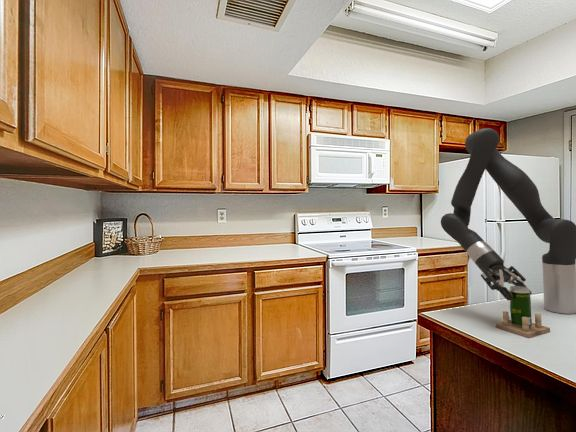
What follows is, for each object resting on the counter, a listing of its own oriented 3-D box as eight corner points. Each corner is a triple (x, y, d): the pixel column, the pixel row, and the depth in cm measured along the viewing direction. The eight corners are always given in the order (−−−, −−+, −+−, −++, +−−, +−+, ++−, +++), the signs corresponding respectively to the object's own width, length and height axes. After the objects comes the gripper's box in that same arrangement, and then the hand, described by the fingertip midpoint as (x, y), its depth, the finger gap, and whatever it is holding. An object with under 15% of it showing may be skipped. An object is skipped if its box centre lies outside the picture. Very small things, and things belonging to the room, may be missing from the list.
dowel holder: (516, 321, 106) (515, 306, 106) (550, 331, 97) (549, 315, 97) (495, 327, 103) (495, 311, 102) (528, 338, 93) (528, 320, 93)
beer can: (532, 324, 100) (531, 287, 100) (530, 329, 96) (529, 290, 96) (512, 321, 104) (510, 285, 104) (509, 326, 100) (507, 288, 100)
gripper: (476, 252, 105) (513, 294, 95) (505, 248, 110) (543, 287, 100) (463, 265, 110) (497, 306, 100) (491, 261, 115) (526, 299, 105)
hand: (520, 297), depth 100 cm, fingers open, 8 cm apart
